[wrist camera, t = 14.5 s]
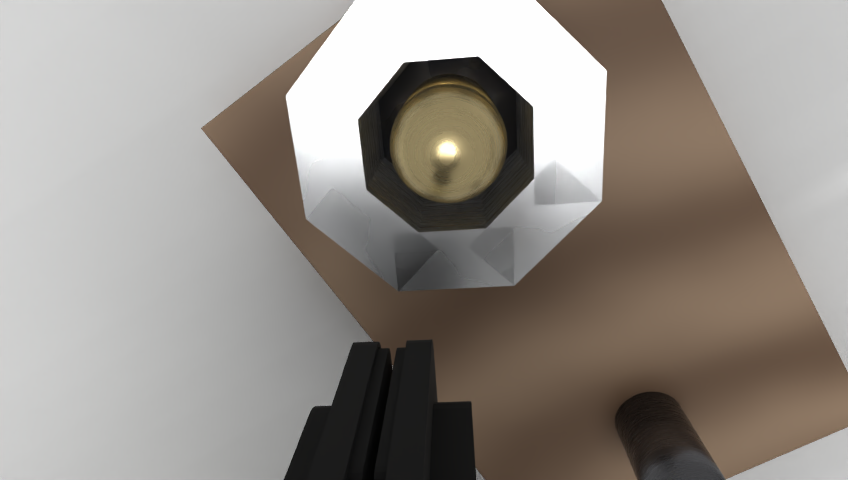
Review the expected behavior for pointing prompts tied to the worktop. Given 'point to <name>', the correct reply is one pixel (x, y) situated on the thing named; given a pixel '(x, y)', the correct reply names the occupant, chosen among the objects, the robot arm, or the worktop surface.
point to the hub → (448, 127)
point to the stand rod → (662, 440)
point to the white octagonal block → (522, 171)
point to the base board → (599, 280)
